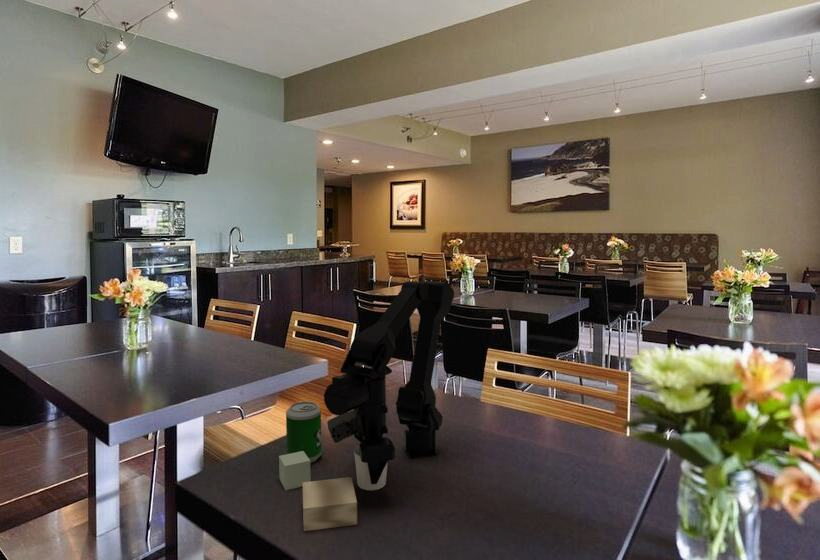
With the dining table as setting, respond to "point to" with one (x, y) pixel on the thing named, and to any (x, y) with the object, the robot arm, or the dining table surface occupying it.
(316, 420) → the soda can
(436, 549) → the dining table surface
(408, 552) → the dining table surface
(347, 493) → the maple block
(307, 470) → the sage cube
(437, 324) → the robot arm
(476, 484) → the dining table surface
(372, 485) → the shot glass
